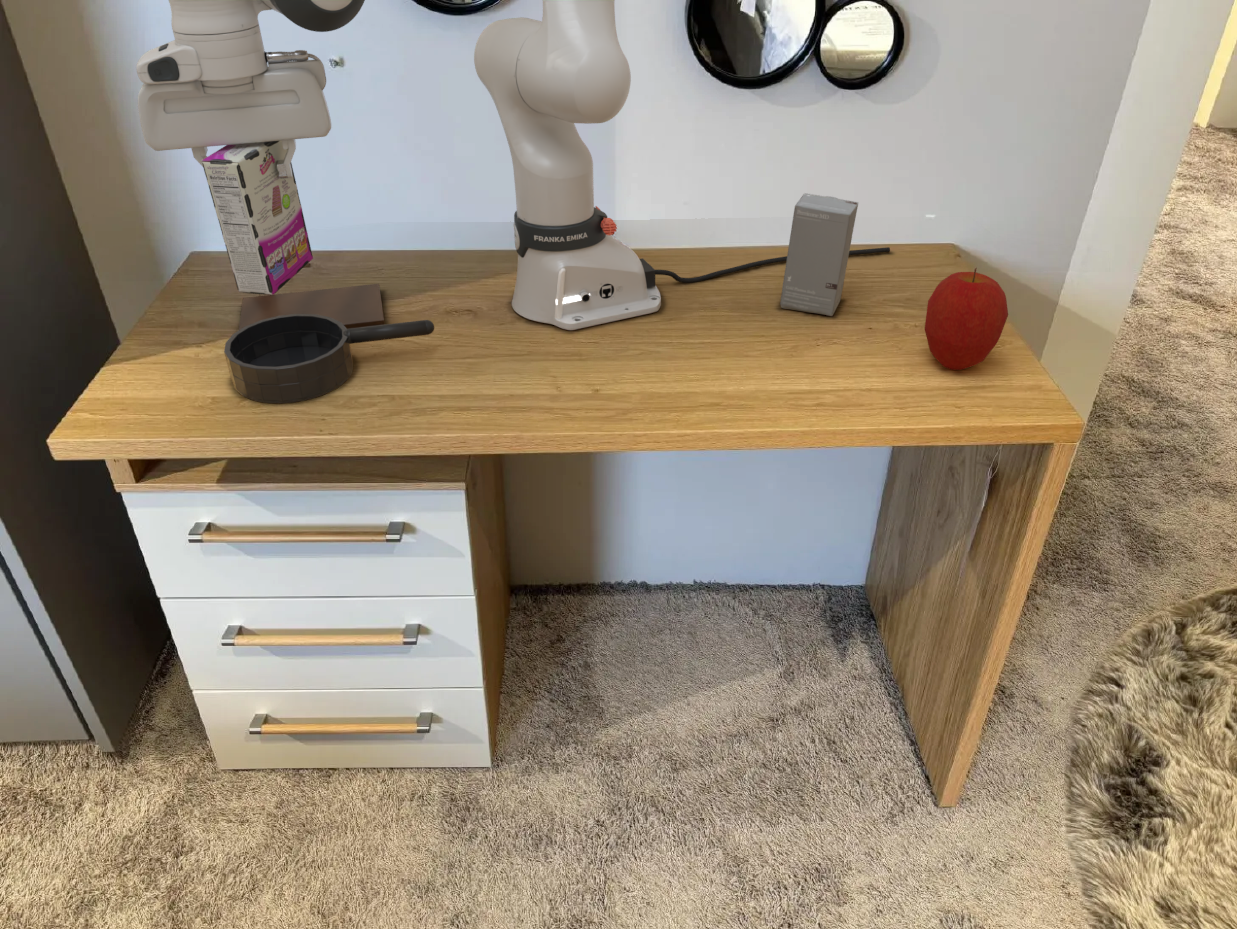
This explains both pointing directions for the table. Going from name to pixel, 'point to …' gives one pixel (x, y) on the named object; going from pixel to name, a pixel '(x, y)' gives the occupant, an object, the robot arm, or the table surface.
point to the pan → (289, 358)
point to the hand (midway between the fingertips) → (252, 180)
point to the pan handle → (389, 331)
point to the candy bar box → (258, 215)
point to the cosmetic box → (818, 254)
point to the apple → (965, 319)
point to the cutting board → (319, 305)
